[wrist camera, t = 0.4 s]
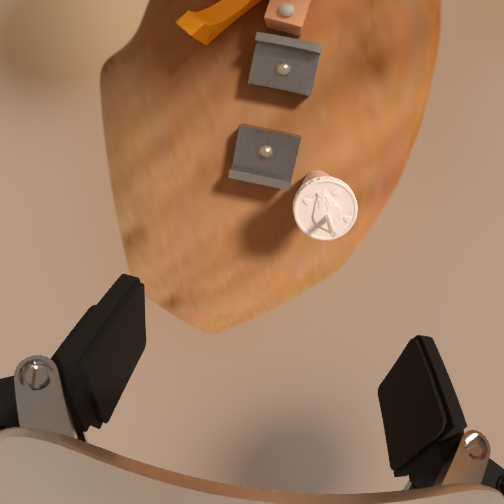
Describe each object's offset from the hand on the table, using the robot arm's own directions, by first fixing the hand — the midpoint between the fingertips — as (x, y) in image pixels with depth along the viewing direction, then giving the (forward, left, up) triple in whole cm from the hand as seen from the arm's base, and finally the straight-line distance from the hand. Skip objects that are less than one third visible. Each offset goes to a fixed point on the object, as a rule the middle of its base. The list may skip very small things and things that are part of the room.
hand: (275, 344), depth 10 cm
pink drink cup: (+2, +4, -31) cm, 31 cm away
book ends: (-6, -3, -30) cm, 31 cm away
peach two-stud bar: (-22, -3, -31) cm, 38 cm away
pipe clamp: (-19, -10, -31) cm, 38 cm away
